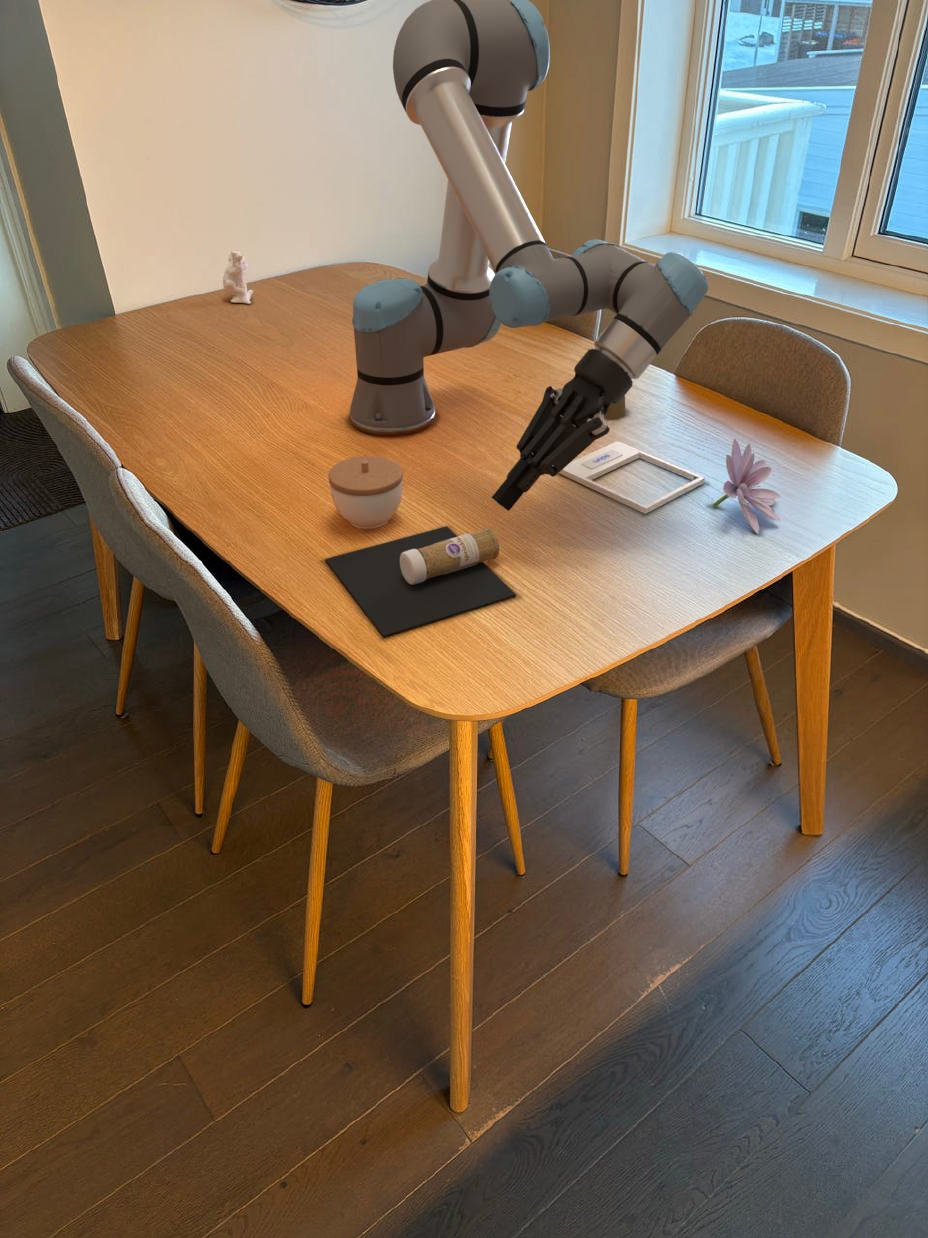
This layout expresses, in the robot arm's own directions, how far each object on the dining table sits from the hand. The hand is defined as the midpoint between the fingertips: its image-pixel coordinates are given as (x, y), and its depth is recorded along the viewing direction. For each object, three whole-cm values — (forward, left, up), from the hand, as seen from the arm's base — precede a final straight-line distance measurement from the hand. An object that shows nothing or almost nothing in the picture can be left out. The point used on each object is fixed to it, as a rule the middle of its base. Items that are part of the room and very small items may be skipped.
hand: (500, 504), depth 126 cm
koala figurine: (-128, +2, -8) cm, 128 cm away
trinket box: (-18, -12, -8) cm, 23 cm away
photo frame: (-10, +30, -8) cm, 32 cm away
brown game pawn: (-33, +42, -8) cm, 54 cm away
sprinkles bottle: (0, -1, -6) cm, 6 cm away
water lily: (+8, +38, -8) cm, 40 cm away
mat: (0, -13, -8) cm, 15 cm away
